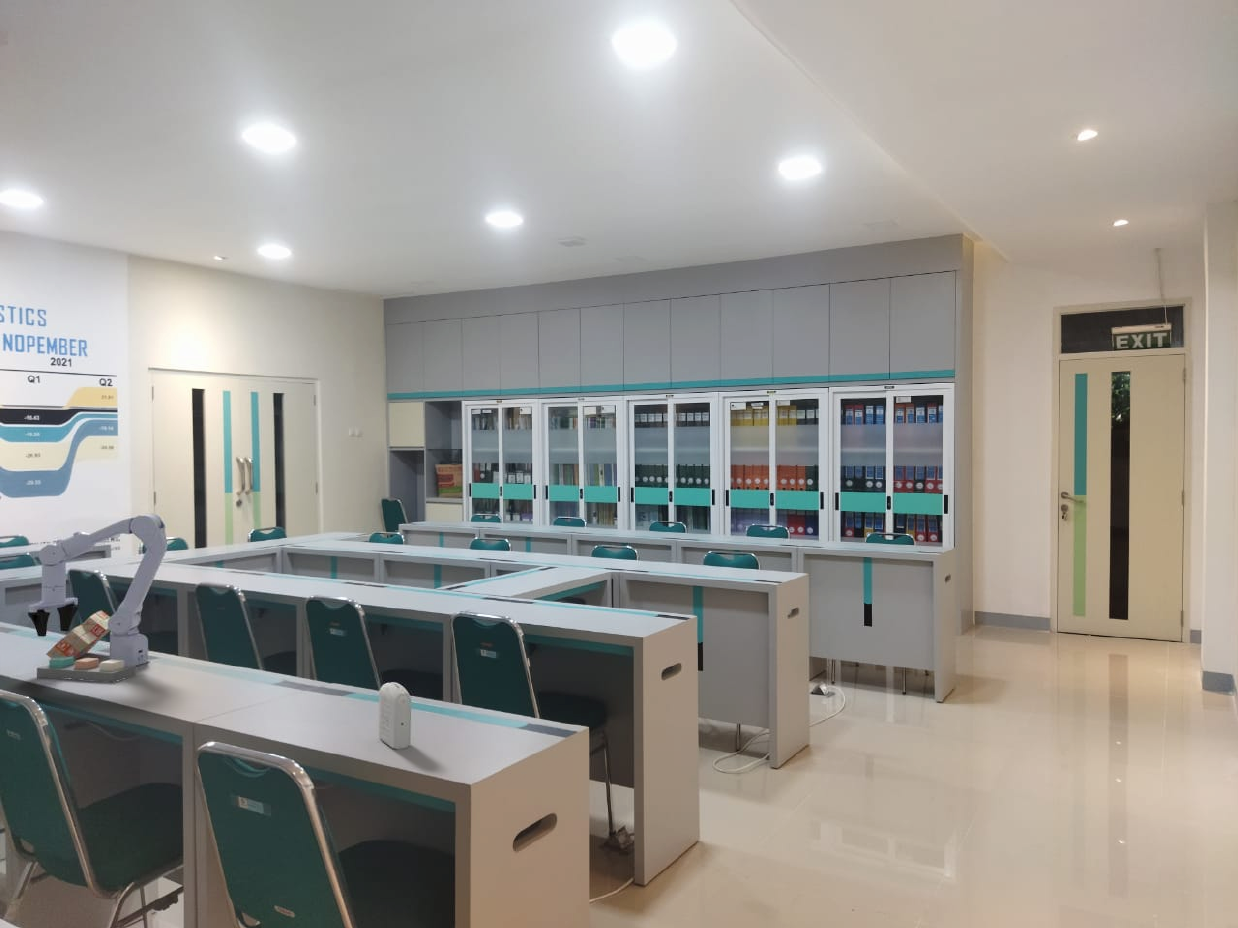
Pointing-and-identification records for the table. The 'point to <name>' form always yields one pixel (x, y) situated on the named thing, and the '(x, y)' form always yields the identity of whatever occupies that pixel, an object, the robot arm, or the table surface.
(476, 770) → the table surface
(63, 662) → the teal button
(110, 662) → the cream button
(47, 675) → the button panel
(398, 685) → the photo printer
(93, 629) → the stack of blocks
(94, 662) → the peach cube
